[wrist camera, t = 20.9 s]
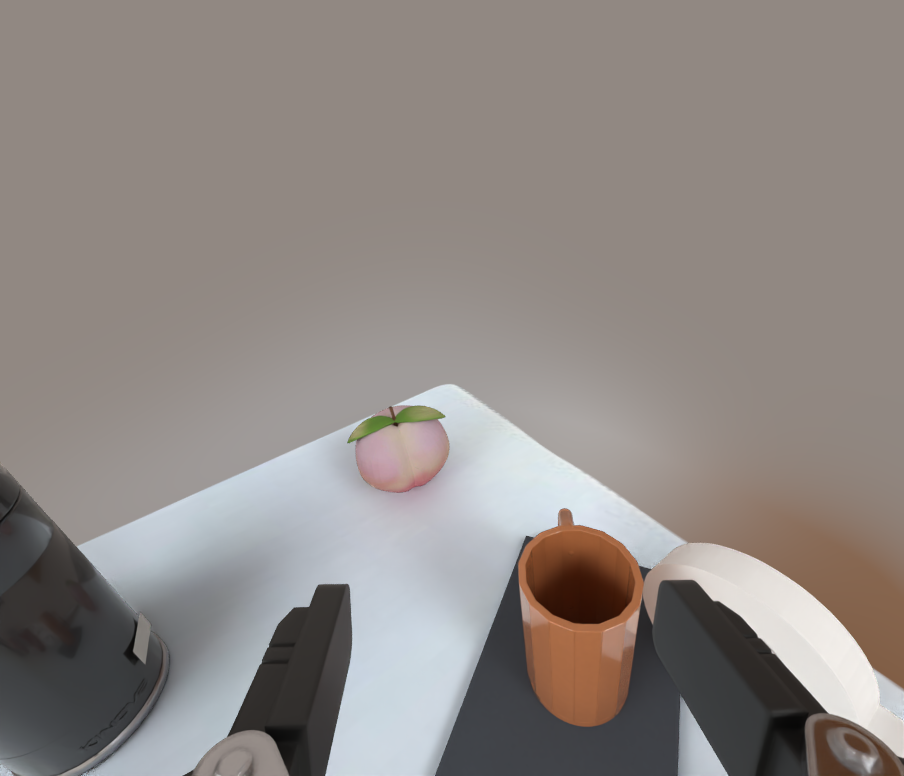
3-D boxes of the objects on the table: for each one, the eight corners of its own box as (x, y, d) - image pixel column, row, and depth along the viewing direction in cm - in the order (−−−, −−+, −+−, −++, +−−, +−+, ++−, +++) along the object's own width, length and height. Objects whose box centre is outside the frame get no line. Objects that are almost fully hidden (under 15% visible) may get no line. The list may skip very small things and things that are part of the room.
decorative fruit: (438, 447, 50) (422, 372, 45) (466, 492, 43) (452, 410, 38) (358, 476, 48) (333, 400, 43) (375, 528, 41) (348, 446, 36)
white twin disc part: (634, 627, 29) (655, 529, 24) (654, 608, 30) (679, 509, 25) (1252, 1188, 13) (1724, 1265, 8) (1253, 1110, 14) (1675, 1133, 9)
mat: (431, 793, 24) (429, 788, 24) (526, 540, 38) (526, 535, 37) (671, 933, 19) (673, 930, 19) (682, 582, 32) (683, 577, 32)
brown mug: (640, 730, 25) (659, 633, 20) (530, 724, 26) (520, 630, 21) (607, 583, 32) (614, 486, 27) (523, 584, 33) (515, 490, 28)
